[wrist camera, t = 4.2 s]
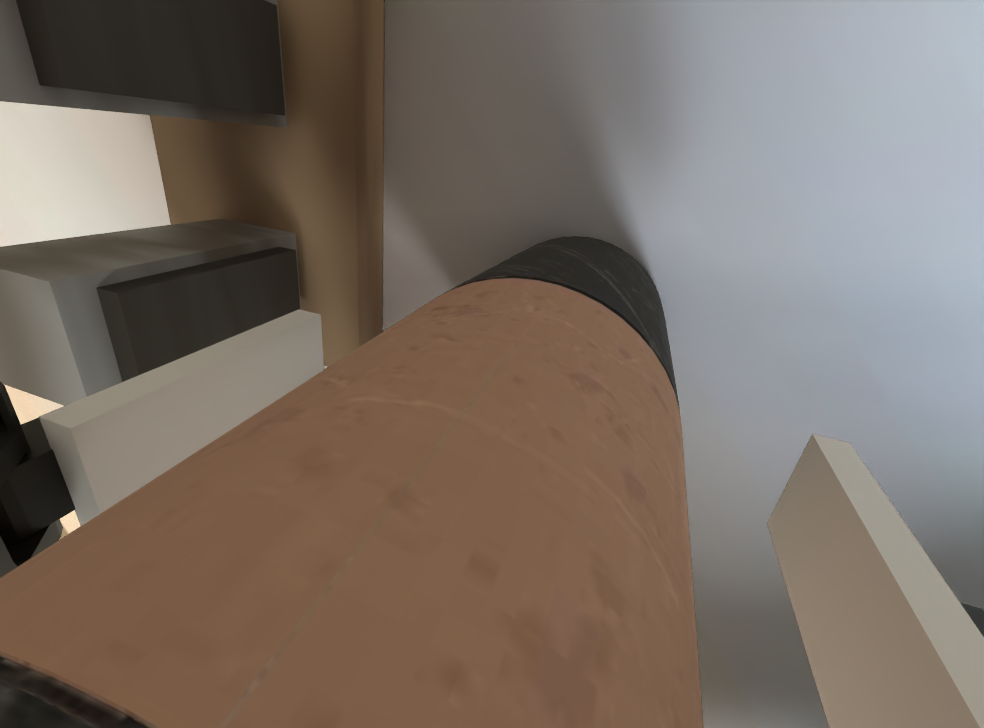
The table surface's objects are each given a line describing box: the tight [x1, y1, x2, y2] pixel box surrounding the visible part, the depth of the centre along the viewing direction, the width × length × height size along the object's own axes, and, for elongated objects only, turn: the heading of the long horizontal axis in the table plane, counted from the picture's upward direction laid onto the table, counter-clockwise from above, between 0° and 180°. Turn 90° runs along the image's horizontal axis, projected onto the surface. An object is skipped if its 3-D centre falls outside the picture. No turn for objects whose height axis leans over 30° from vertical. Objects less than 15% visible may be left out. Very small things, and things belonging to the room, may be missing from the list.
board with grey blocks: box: [0, 0, 384, 406], centre depth 14 cm, size 10×26×11 cm, turn 174°
